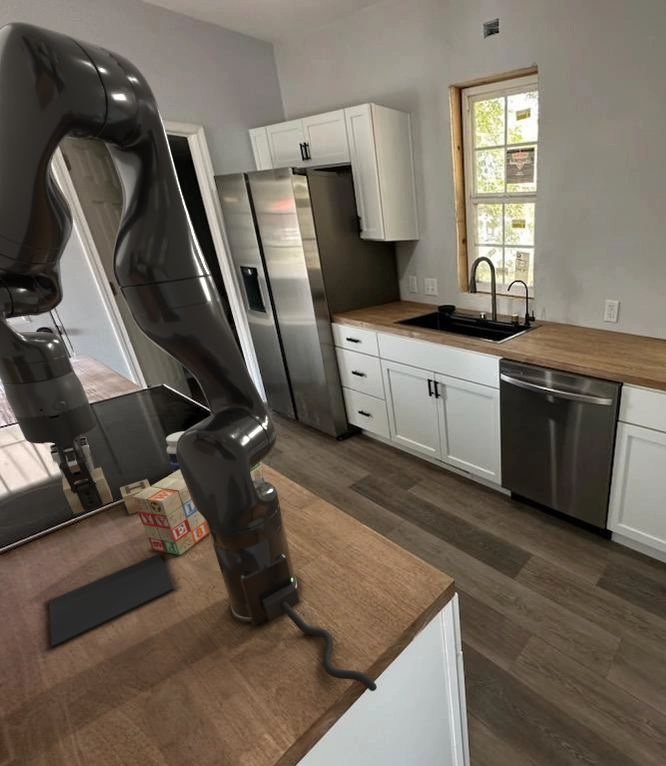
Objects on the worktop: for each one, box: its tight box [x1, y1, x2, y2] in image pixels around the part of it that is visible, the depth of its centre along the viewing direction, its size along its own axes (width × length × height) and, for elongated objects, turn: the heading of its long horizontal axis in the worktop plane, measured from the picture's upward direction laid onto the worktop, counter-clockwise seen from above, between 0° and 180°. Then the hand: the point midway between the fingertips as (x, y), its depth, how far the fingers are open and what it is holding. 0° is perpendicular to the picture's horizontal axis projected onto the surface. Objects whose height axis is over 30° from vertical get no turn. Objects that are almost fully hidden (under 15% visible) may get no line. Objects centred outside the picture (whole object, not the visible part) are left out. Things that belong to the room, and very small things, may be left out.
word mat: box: [48, 553, 175, 649], centre depth 67 cm, size 11×14×1 cm
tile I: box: [61, 467, 114, 515], centre depth 66 cm, size 4×4×5 cm
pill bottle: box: [165, 430, 186, 473], centre depth 98 cm, size 6×6×10 cm
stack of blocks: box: [133, 462, 265, 556], centre depth 83 cm, size 21×6×12 cm, turn 168°
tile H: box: [119, 478, 151, 515], centre depth 87 cm, size 4×4×5 cm
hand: (92, 499), depth 67 cm, fingers closed on tile I, 4 cm apart
